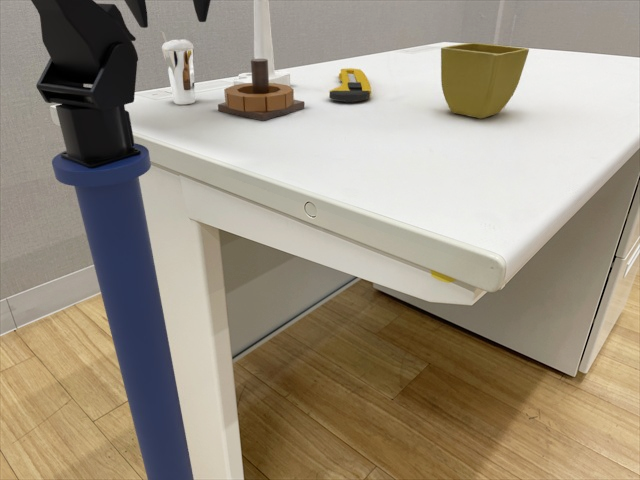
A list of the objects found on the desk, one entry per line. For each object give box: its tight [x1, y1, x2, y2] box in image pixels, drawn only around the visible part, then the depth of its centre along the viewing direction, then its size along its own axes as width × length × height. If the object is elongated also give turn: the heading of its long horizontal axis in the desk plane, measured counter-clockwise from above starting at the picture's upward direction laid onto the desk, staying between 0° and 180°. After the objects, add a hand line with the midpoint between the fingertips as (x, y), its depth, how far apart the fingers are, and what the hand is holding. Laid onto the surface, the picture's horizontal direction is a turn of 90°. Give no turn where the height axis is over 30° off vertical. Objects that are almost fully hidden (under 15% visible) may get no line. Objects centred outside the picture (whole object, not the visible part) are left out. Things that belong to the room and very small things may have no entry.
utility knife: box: [328, 67, 372, 103], centre depth 86 cm, size 7×22×2 cm, turn 0°
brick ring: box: [224, 83, 295, 112], centre depth 72 cm, size 10×10×2 cm
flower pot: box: [440, 42, 530, 119], centre depth 70 cm, size 9×9×9 cm
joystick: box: [232, 0, 291, 87], centre depth 81 cm, size 11×8×20 cm
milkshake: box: [160, 31, 196, 106], centre depth 75 cm, size 4×5×10 cm
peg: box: [217, 58, 305, 122], centre depth 72 cm, size 9×9×7 cm
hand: (174, 24), depth 64 cm, fingers open, 9 cm apart
